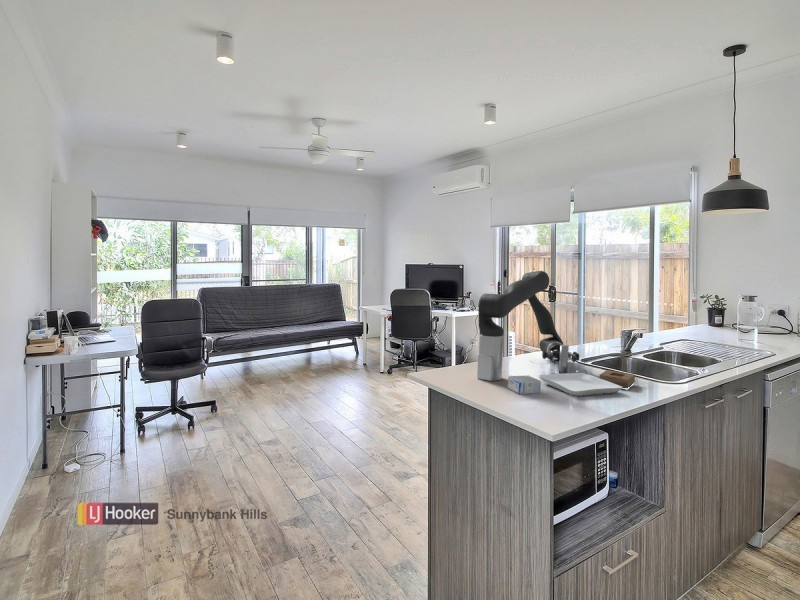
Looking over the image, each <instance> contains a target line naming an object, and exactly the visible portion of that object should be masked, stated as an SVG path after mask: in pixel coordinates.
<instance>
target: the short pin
mask: <svg viewBox="0 0 800 600" xmlns="http://www.w3.org/2000/svg"><path fill="white" fill-rule="evenodd" d="M574 373H585V374H588V371H587V370H586V369H584V368H581V369H579V370H576V371H575V372H574Z"/></svg>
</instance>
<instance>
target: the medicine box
mask: <svg viewBox="0 0 800 600" xmlns="http://www.w3.org/2000/svg"><path fill="white" fill-rule="evenodd" d="M541 382H542V381H541V379H540V380H539V379H538V378H535V377H533V376H530V375H529V374H528V375H511V376H508V380H507V389H509V390H511V391H513V392H515V393H517V395H524V394H527V395H528V394H540V393H541V385H542V383H541Z"/></svg>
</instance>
